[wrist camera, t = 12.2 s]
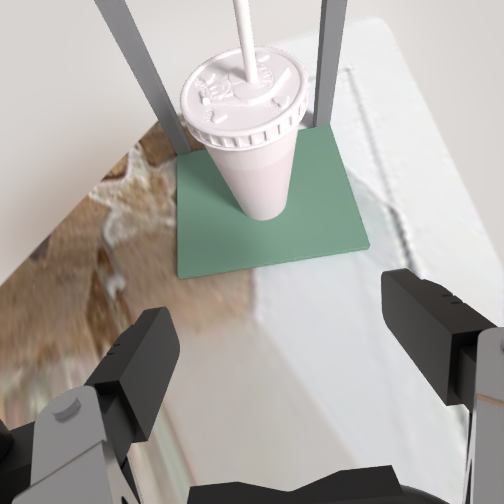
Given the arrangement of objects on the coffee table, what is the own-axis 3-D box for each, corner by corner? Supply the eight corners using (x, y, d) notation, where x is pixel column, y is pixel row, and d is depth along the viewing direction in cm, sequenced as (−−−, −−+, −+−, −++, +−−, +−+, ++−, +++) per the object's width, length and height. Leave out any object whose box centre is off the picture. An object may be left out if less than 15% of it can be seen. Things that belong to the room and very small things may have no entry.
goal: (180, 279, 21) (3, 133, 8) (179, 149, 26) (72, -58, 14) (368, 249, 20) (500, 24, 7) (326, 120, 25) (357, -136, 13)
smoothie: (315, 221, 20) (348, -24, 8) (233, 246, 21) (134, 45, 8) (289, 159, 23) (281, -99, 10) (217, 181, 23) (123, -45, 11)
